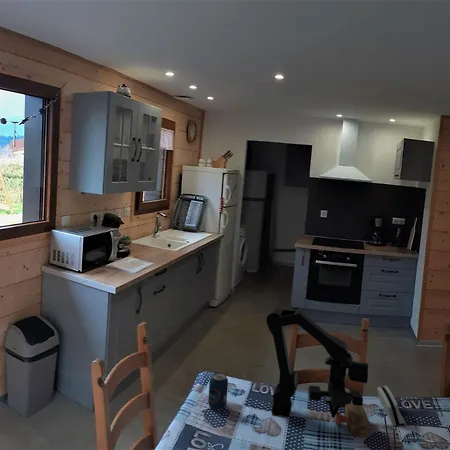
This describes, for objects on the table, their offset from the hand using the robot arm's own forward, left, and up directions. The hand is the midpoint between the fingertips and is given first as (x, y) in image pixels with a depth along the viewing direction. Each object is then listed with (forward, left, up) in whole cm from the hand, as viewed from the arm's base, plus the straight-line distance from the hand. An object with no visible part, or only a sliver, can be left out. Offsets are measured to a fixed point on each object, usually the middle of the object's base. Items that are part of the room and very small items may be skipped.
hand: (332, 417), depth 161 cm
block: (+8, 0, -3) cm, 9 cm away
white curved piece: (+23, +12, -3) cm, 27 cm away
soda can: (-43, +3, -3) cm, 43 cm away
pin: (+6, 0, -2) cm, 7 cm away
